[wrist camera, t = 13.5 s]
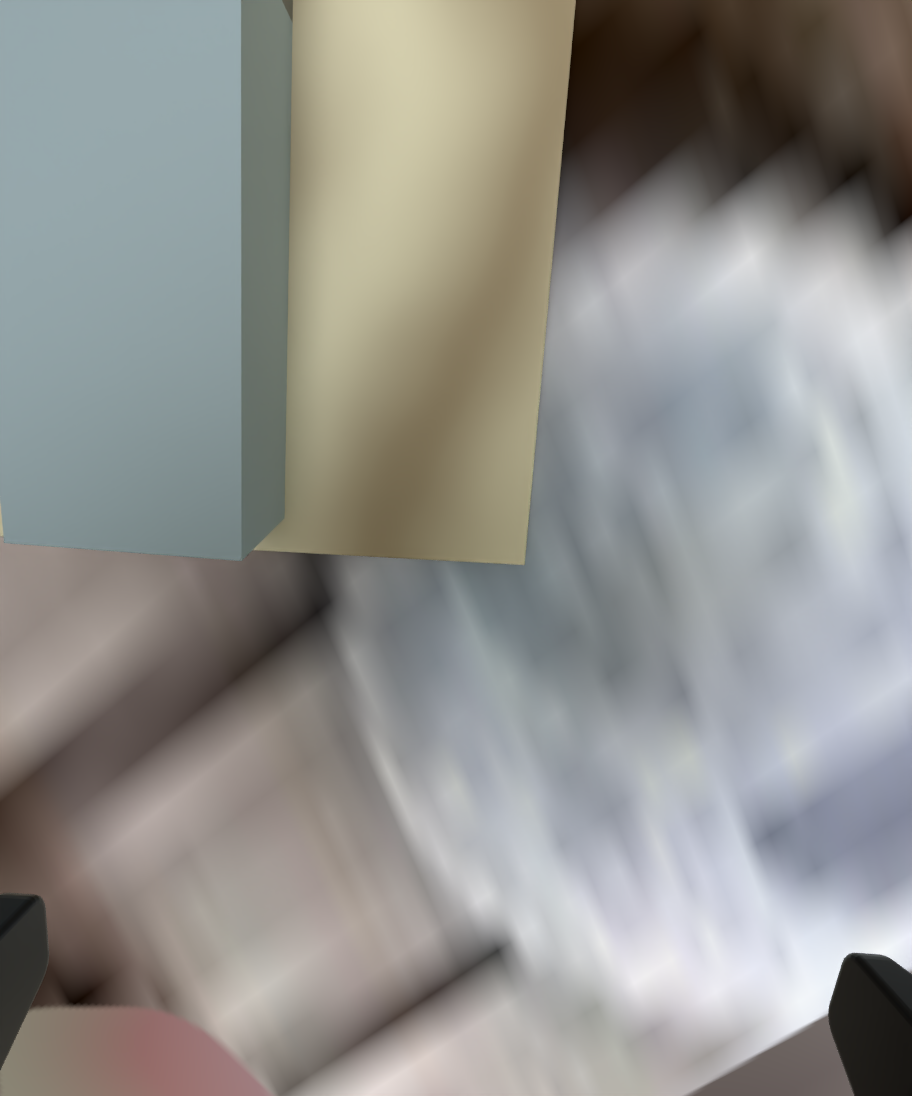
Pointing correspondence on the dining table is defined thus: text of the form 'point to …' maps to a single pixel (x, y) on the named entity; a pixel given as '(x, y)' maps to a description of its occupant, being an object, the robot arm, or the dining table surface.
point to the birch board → (419, 272)
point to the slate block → (144, 273)
